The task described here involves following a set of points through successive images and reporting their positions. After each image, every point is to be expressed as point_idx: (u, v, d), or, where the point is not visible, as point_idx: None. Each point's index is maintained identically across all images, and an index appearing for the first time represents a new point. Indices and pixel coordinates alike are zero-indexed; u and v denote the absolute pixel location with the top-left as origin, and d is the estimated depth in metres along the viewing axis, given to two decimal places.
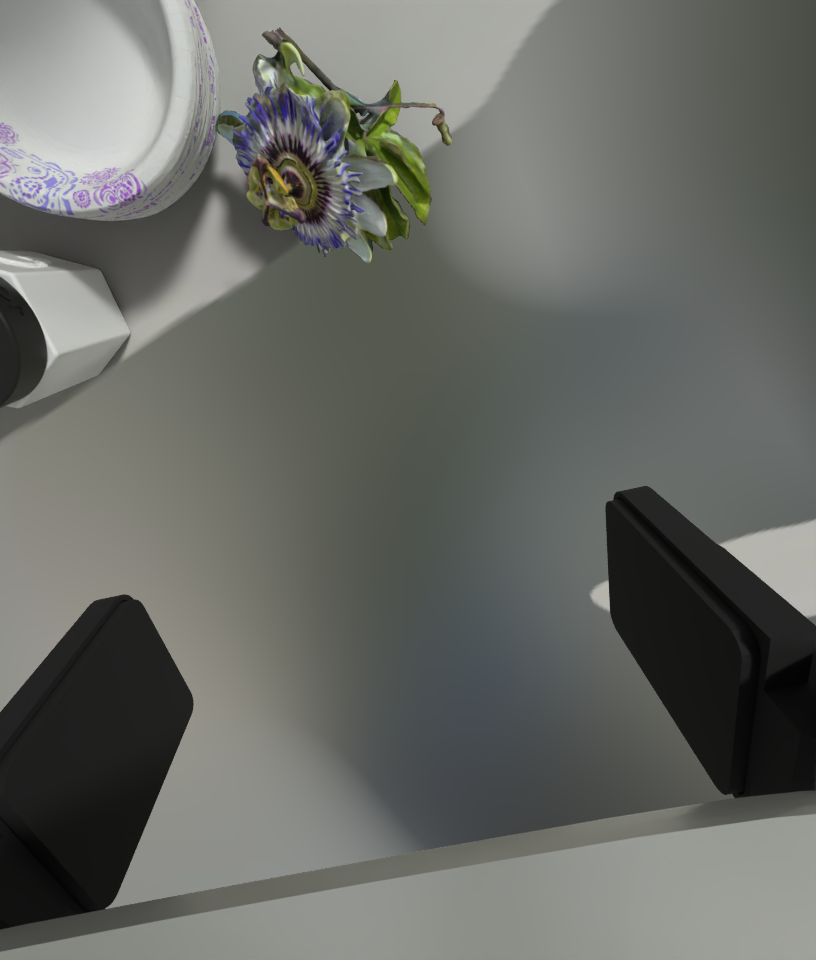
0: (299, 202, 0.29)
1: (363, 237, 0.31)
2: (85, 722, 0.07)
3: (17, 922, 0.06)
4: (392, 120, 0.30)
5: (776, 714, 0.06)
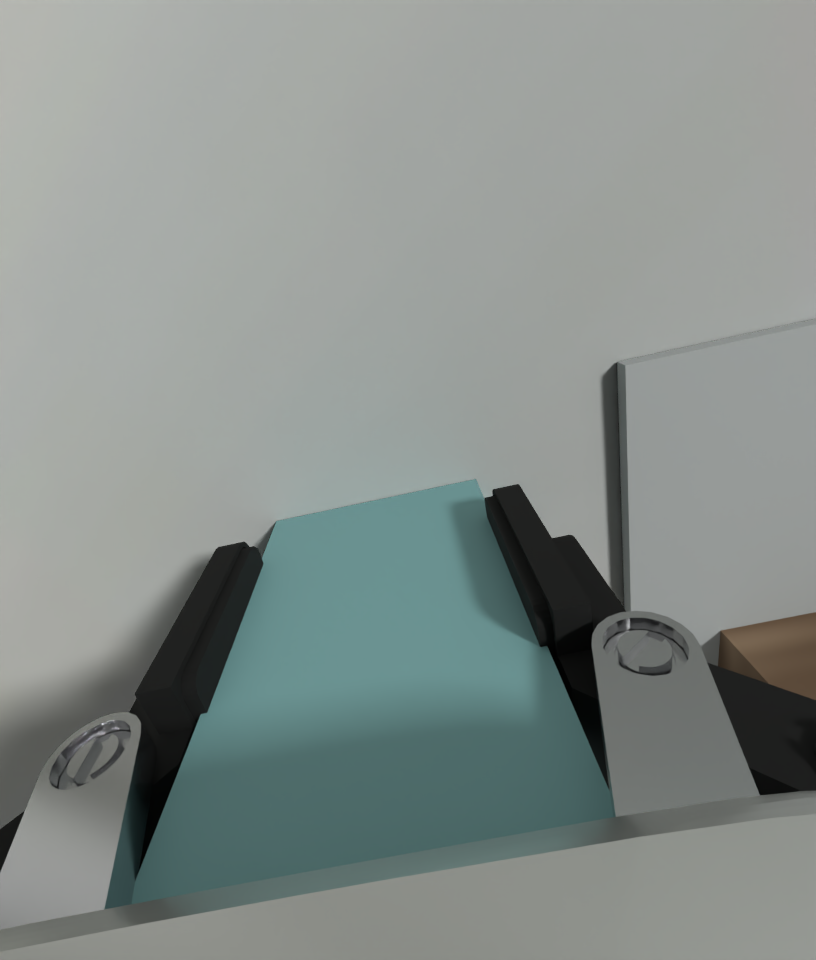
0: None
1: None
2: None
3: None
4: None
5: (563, 675, 0.07)
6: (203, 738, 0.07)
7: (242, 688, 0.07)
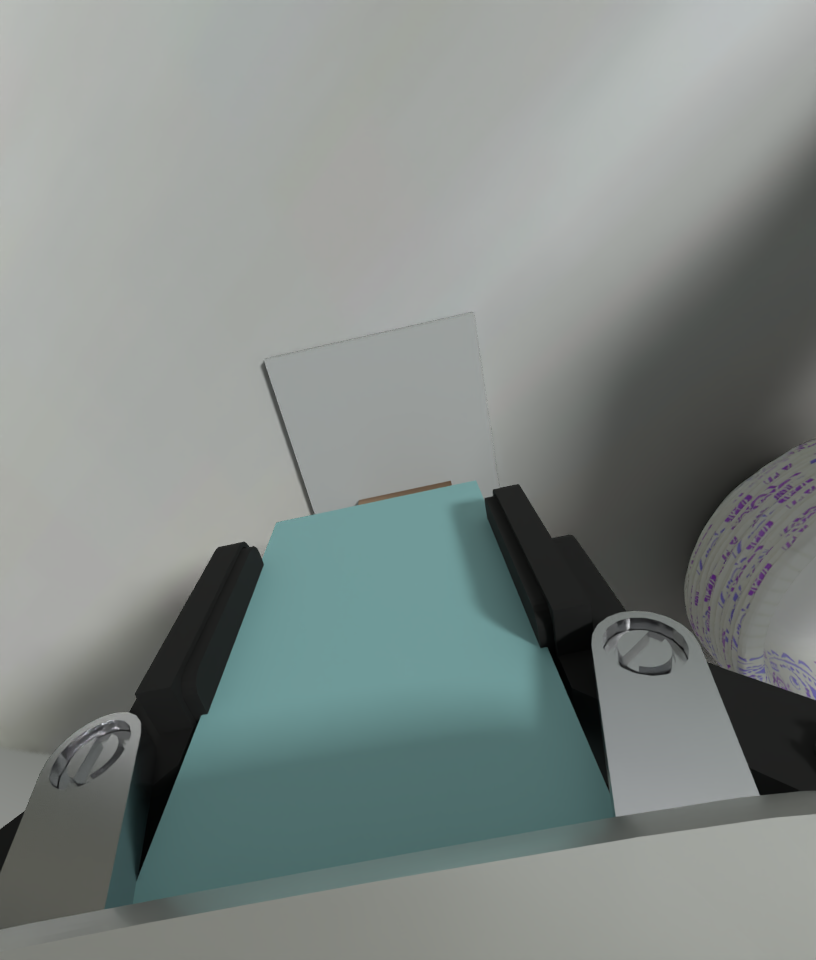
0: None
1: None
2: None
3: None
4: None
5: (563, 675, 0.07)
6: (203, 740, 0.07)
7: (242, 690, 0.07)
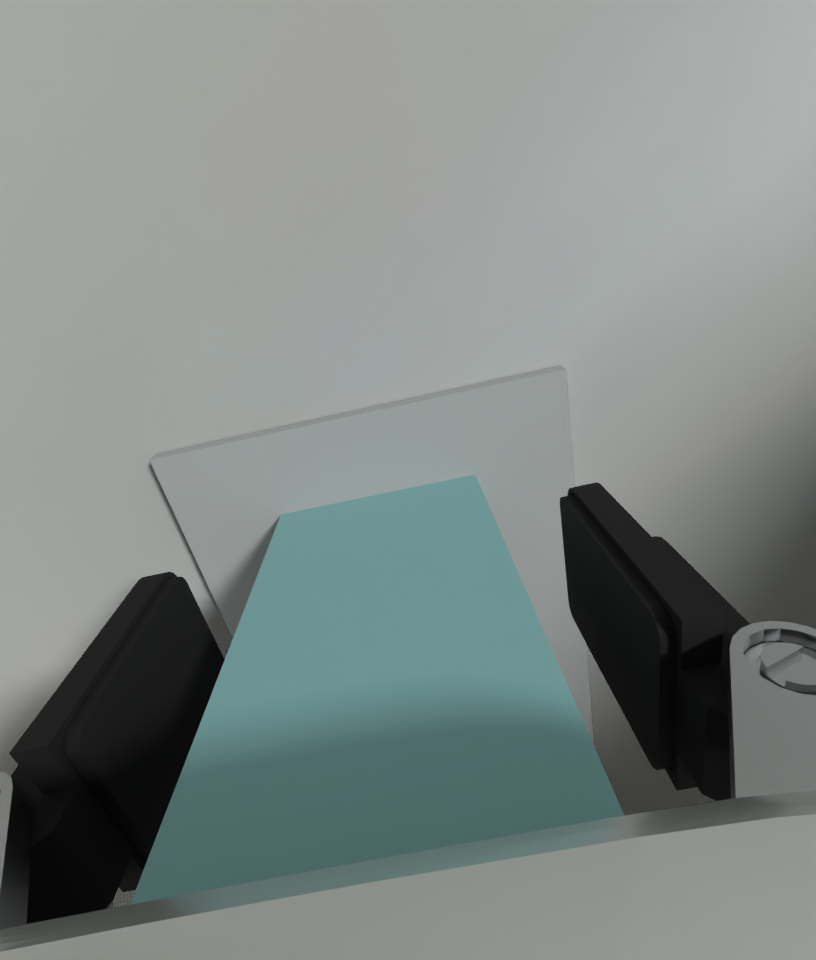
0: None
1: None
2: (143, 687, 0.08)
3: (92, 866, 0.06)
4: None
5: (689, 691, 0.06)
6: (215, 715, 0.07)
7: (251, 669, 0.08)
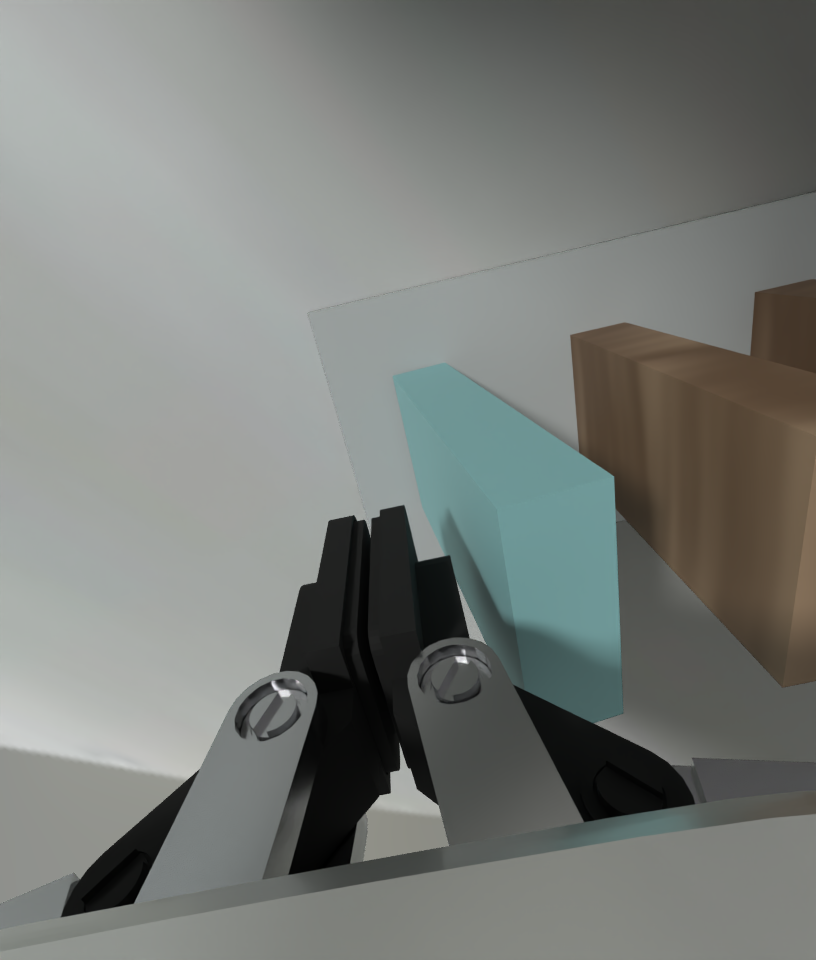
0: None
1: None
2: None
3: (368, 761, 0.07)
4: None
5: (394, 699, 0.07)
6: (469, 604, 0.13)
7: (459, 576, 0.13)
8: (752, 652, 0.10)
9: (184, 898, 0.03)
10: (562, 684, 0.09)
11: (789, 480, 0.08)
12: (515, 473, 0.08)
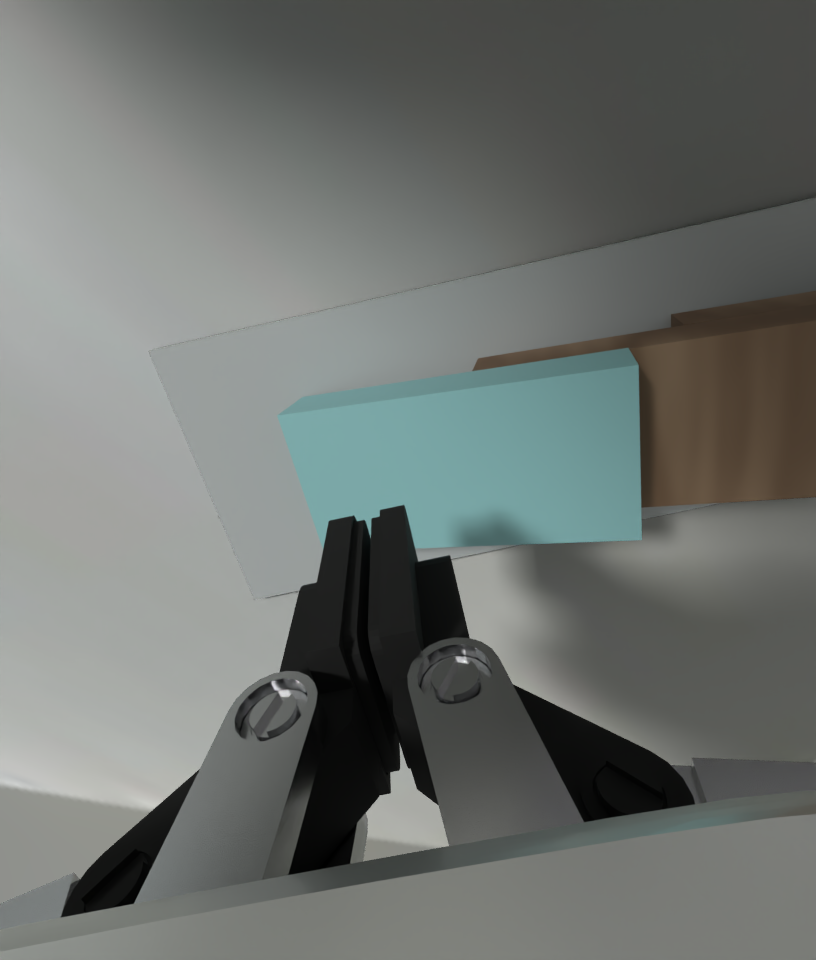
0: None
1: None
2: None
3: (368, 761, 0.07)
4: None
5: (394, 699, 0.07)
6: (499, 540, 0.15)
7: (473, 531, 0.15)
8: None
9: (184, 898, 0.03)
10: None
11: None
12: (595, 364, 0.13)
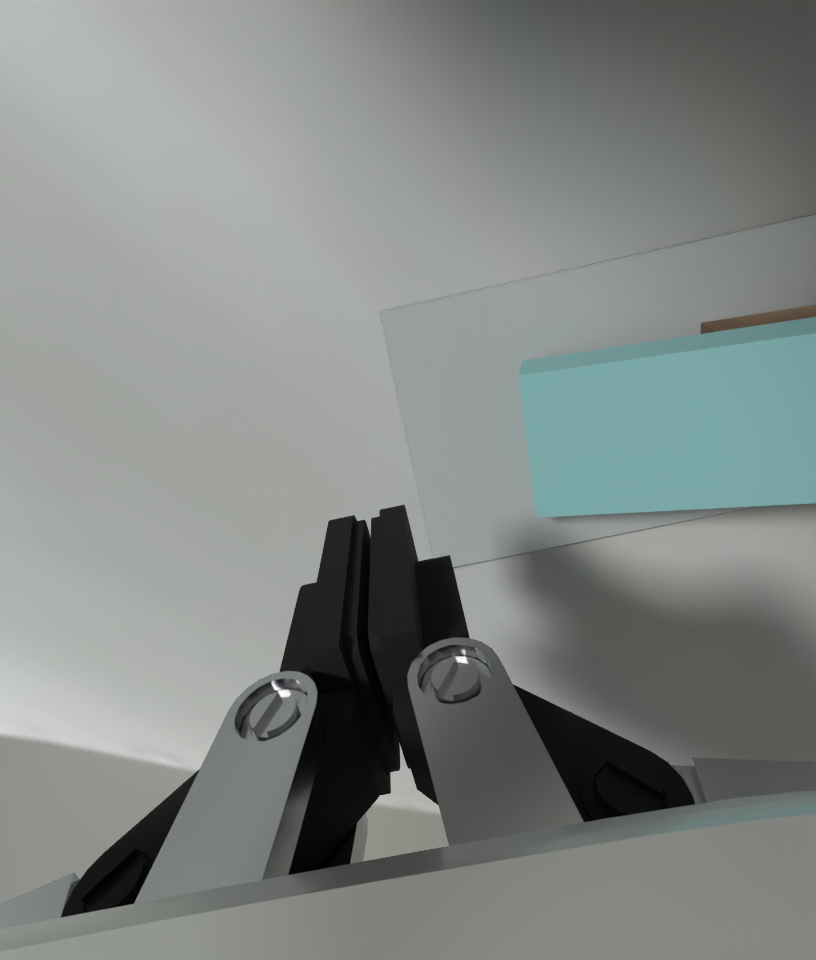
0: None
1: None
2: None
3: (368, 761, 0.07)
4: None
5: (395, 699, 0.07)
6: (740, 501, 0.15)
7: (712, 493, 0.15)
8: None
9: (184, 898, 0.03)
10: None
11: None
12: None
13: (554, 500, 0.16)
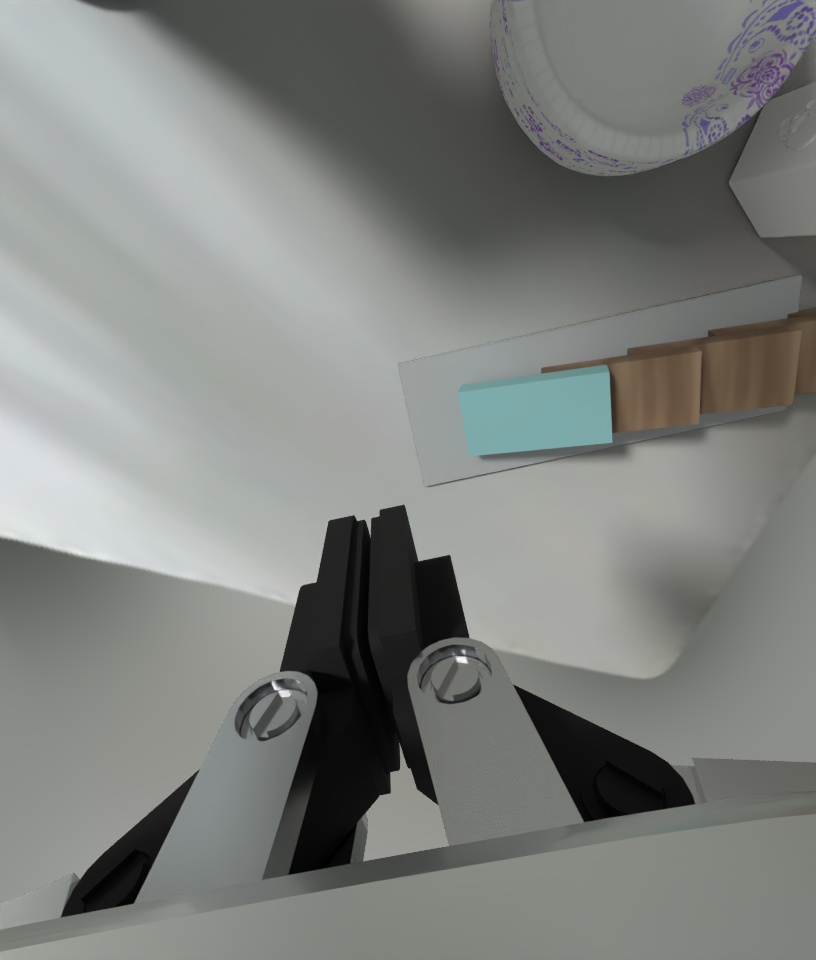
0: None
1: None
2: None
3: (368, 761, 0.07)
4: None
5: (395, 699, 0.07)
6: (552, 445, 0.35)
7: (540, 442, 0.35)
8: (685, 424, 0.34)
9: (184, 898, 0.03)
10: None
11: (694, 365, 0.32)
12: (593, 371, 0.33)
13: (476, 447, 0.36)
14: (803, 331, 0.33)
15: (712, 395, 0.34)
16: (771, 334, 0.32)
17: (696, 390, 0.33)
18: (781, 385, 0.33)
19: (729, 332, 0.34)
